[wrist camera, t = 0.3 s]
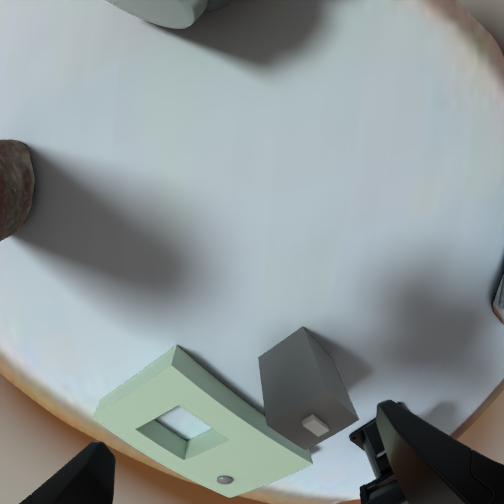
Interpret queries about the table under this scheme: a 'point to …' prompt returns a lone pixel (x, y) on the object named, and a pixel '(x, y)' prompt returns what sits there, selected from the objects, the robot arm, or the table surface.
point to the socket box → (209, 443)
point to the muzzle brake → (169, 10)
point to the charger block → (304, 391)
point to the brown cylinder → (14, 186)
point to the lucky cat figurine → (499, 301)
